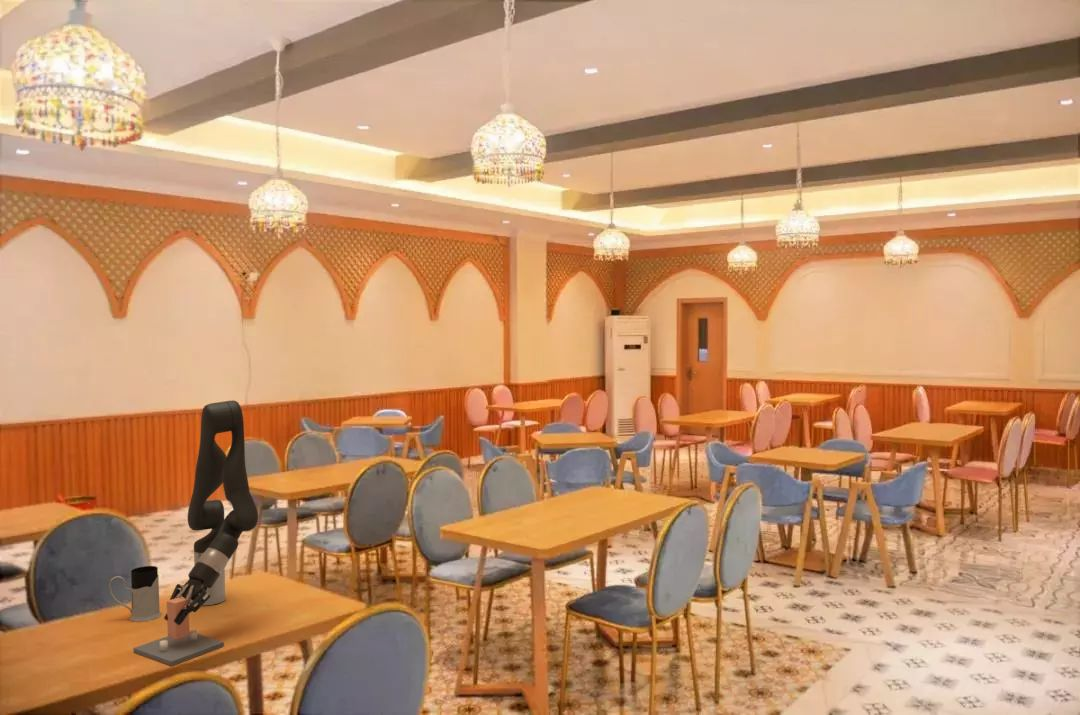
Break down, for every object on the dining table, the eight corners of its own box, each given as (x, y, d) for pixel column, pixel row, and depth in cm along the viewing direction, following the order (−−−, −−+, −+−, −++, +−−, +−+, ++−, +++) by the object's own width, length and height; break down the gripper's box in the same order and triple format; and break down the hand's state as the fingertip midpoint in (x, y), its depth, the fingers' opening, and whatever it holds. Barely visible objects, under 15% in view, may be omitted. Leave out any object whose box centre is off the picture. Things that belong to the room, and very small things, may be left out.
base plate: (133, 652, 229) (133, 639, 229) (185, 634, 242) (185, 621, 242) (171, 666, 219) (171, 652, 219) (224, 646, 232) (223, 633, 232)
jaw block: (167, 636, 230) (166, 601, 230) (181, 632, 233) (179, 597, 233) (176, 639, 228) (175, 603, 227) (189, 634, 231) (188, 599, 231)
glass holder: (160, 619, 255) (158, 571, 255) (109, 626, 250) (107, 577, 250) (162, 610, 263) (160, 564, 263) (112, 616, 258) (110, 569, 258)
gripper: (185, 557, 240) (147, 610, 230) (215, 564, 232) (177, 619, 222) (202, 570, 245) (166, 623, 235) (232, 578, 237) (196, 633, 227)
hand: (171, 621), depth 229 cm, fingers closed on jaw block, 4 cm apart
